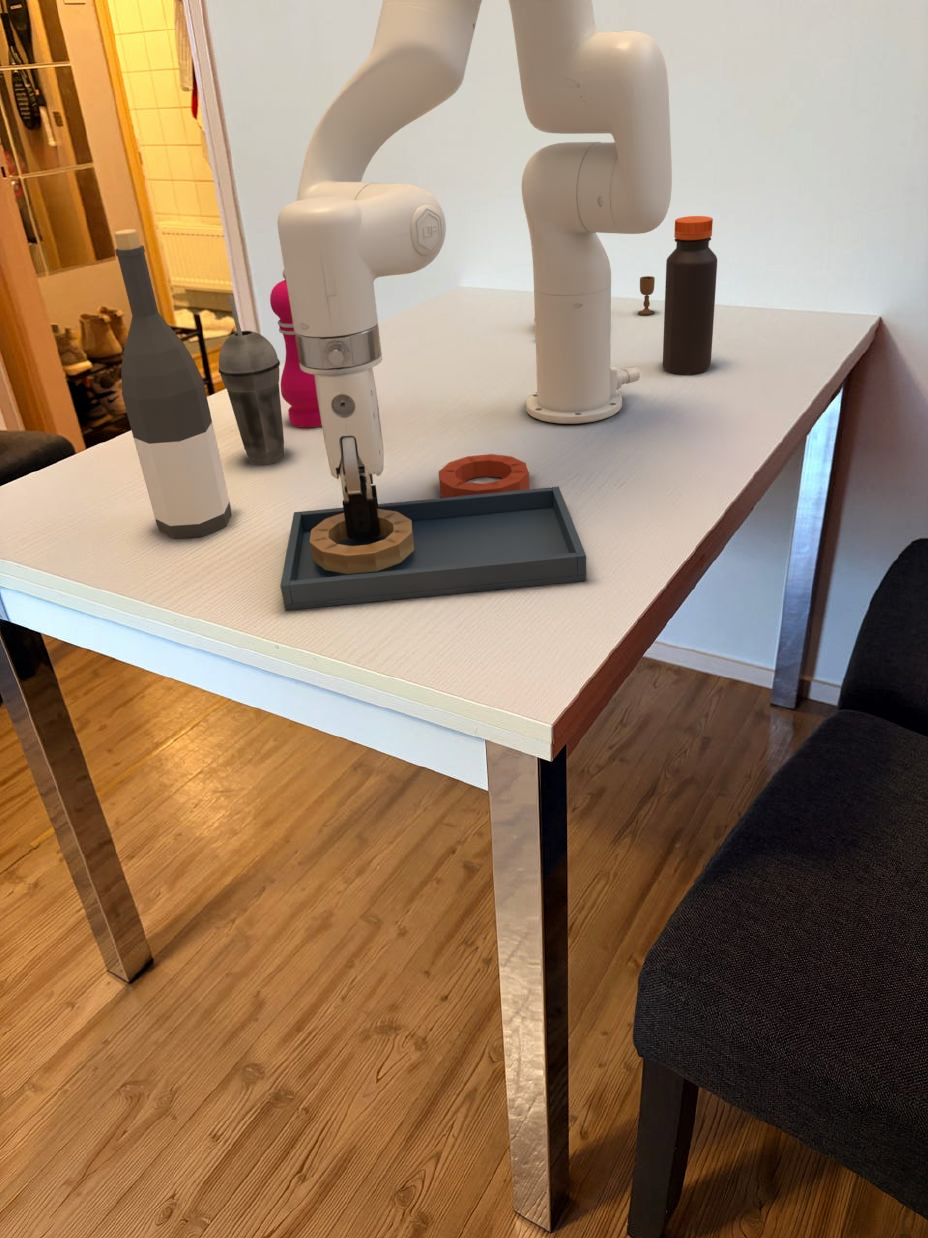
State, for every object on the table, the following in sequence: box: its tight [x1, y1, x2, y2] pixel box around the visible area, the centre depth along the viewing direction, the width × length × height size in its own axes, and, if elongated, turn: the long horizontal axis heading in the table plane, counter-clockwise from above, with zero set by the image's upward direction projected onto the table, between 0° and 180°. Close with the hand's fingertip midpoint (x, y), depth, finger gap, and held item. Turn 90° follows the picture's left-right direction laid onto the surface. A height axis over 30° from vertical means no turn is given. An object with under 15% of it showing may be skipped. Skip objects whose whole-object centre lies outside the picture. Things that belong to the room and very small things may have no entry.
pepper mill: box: [269, 269, 322, 429], centre depth 125 cm, size 7×7×20 cm
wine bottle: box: [113, 228, 232, 540], centre depth 97 cm, size 8×8×30 cm
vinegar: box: [662, 215, 718, 375], centre depth 132 cm, size 7×7×20 cm
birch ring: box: [309, 509, 414, 574], centre depth 93 cm, size 10×10×2 cm
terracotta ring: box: [438, 453, 530, 498], centre depth 106 cm, size 10×10×2 cm
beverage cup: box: [218, 294, 286, 466], centre depth 114 cm, size 7×7×20 cm
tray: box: [280, 486, 587, 611], centre depth 93 cm, size 28×16×3 cm, turn 94°
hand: (364, 528), depth 96 cm, fingers closed on birch ring, 2 cm apart
